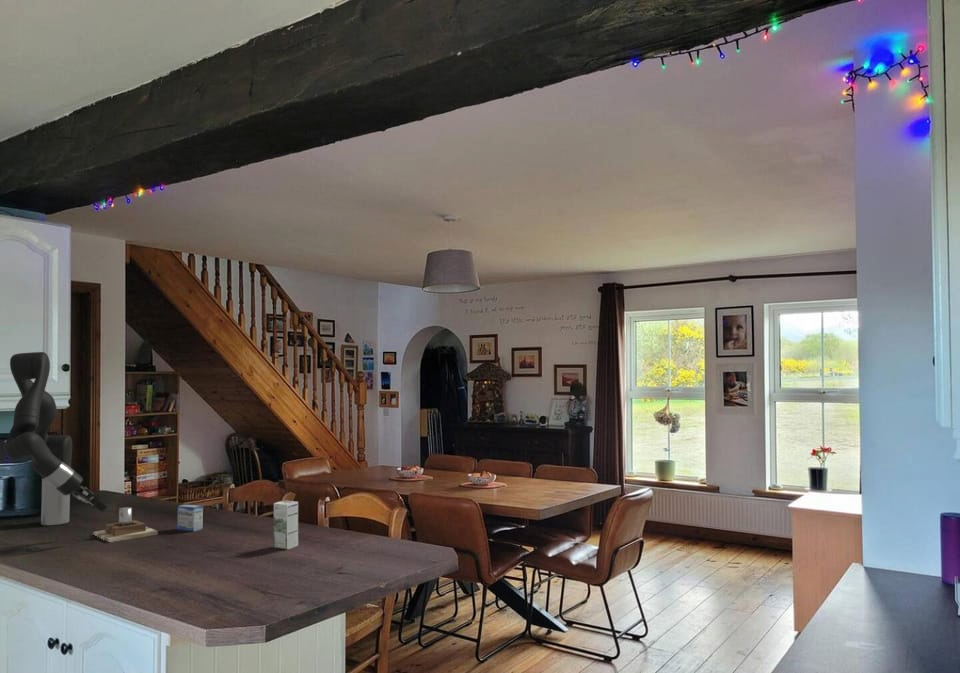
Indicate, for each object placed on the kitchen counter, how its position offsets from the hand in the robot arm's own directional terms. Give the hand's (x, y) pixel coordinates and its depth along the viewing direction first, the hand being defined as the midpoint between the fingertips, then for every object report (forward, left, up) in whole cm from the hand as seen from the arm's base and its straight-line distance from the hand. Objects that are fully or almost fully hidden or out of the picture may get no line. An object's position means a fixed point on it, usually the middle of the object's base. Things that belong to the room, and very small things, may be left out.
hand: (100, 507), depth 238 cm
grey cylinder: (0, +8, -9) cm, 13 cm away
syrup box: (+58, +37, -11) cm, 70 cm away
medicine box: (+9, +27, -11) cm, 31 cm away
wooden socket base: (0, +8, -11) cm, 13 cm away
